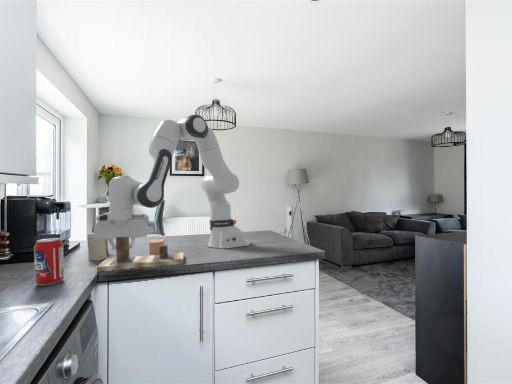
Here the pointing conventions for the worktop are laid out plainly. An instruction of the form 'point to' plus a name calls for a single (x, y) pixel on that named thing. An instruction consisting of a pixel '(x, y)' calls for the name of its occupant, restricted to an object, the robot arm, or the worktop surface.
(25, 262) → the worktop surface
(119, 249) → the peg
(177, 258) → the board
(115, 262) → the pad
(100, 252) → the skincare box
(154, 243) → the block
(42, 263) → the soda can
